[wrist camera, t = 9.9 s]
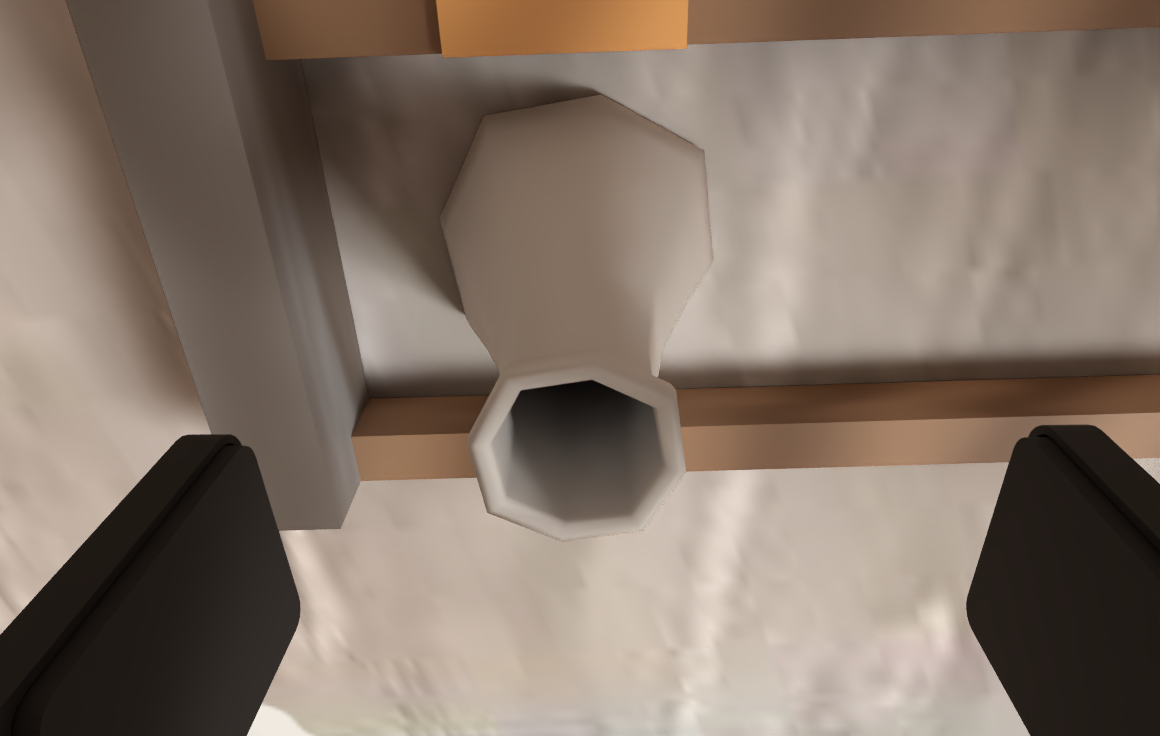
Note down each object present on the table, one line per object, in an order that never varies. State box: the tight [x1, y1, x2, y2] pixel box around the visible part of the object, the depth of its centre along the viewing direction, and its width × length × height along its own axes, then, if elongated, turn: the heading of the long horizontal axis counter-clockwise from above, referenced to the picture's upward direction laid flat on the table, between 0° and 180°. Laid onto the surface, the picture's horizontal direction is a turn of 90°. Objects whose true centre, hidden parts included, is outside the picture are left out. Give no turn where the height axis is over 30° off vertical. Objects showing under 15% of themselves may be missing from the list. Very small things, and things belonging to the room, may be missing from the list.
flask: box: [440, 95, 713, 542], centre depth 15 cm, size 7×7×10 cm
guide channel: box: [66, 0, 1160, 531], centre depth 17 cm, size 29×13×4 cm, turn 92°
